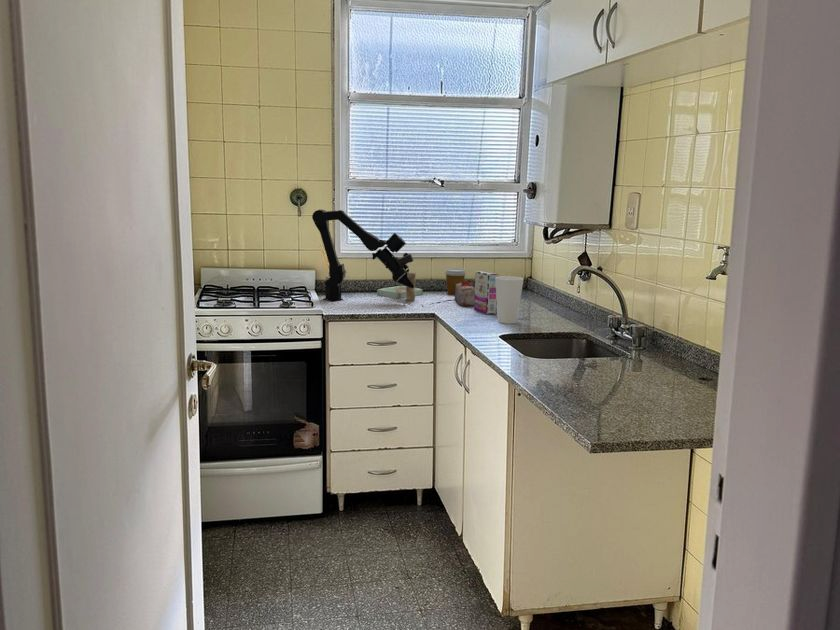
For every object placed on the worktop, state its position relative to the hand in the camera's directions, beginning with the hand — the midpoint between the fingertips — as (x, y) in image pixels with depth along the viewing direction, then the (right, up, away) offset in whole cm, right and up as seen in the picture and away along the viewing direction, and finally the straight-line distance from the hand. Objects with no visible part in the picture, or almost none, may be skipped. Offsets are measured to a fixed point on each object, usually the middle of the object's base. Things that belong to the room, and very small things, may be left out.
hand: (414, 286), depth 329 cm
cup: (+36, -15, -35) cm, 53 cm away
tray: (-6, -4, +16) cm, 17 cm away
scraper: (-2, -7, +1) cm, 7 cm away
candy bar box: (+29, -11, -16) cm, 35 cm away
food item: (+22, -8, +2) cm, 23 cm away
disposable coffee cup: (+18, -4, +22) cm, 29 cm away
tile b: (-5, -2, +21) cm, 21 cm away
